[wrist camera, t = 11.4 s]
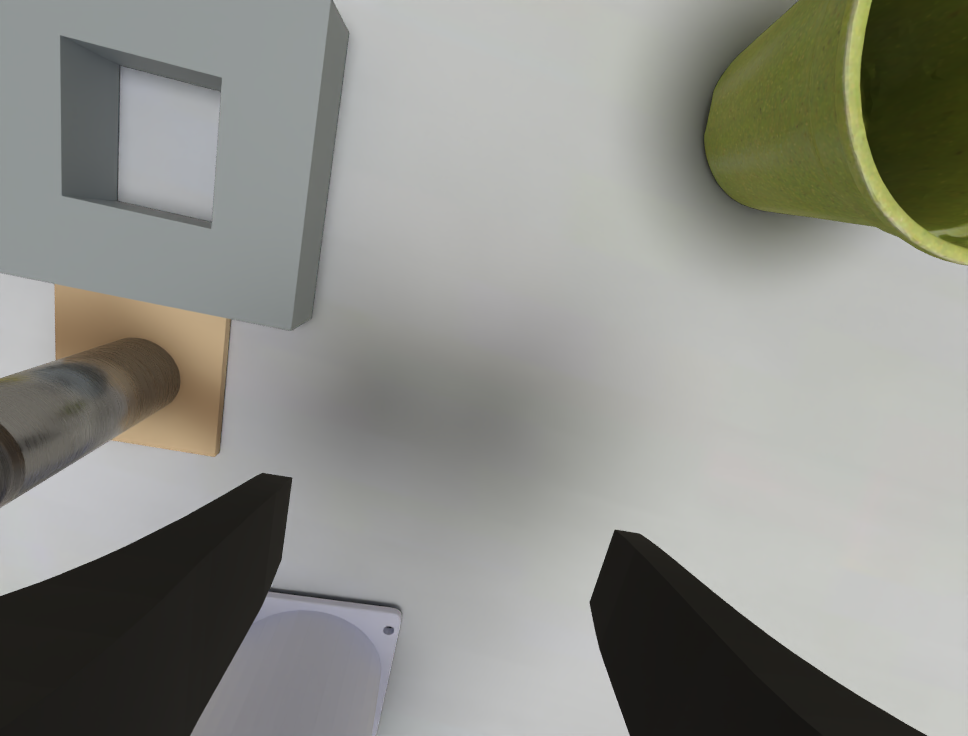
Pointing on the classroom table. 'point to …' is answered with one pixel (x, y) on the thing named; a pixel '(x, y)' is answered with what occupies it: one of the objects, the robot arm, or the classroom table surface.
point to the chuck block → (239, 162)
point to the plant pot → (852, 119)
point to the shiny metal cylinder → (77, 407)
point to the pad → (179, 332)
